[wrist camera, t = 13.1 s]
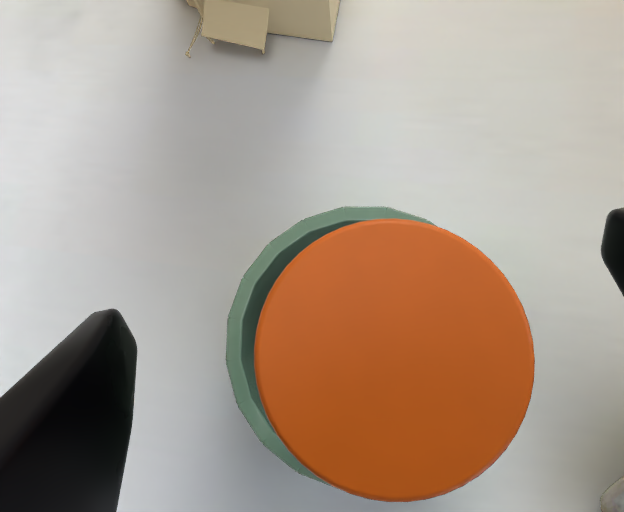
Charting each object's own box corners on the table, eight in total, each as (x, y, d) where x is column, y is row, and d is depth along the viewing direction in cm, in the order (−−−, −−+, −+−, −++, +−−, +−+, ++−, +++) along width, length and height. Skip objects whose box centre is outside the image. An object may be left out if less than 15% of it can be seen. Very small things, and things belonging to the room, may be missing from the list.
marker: (390, 396, 18) (496, 548, 5) (306, 369, 18) (215, 448, 6) (414, 312, 18) (567, 261, 6) (332, 286, 19) (301, 184, 6)
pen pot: (468, 453, 18) (514, 498, 13) (252, 445, 19) (219, 485, 14) (462, 239, 19) (502, 206, 14) (260, 237, 20) (232, 205, 15)
